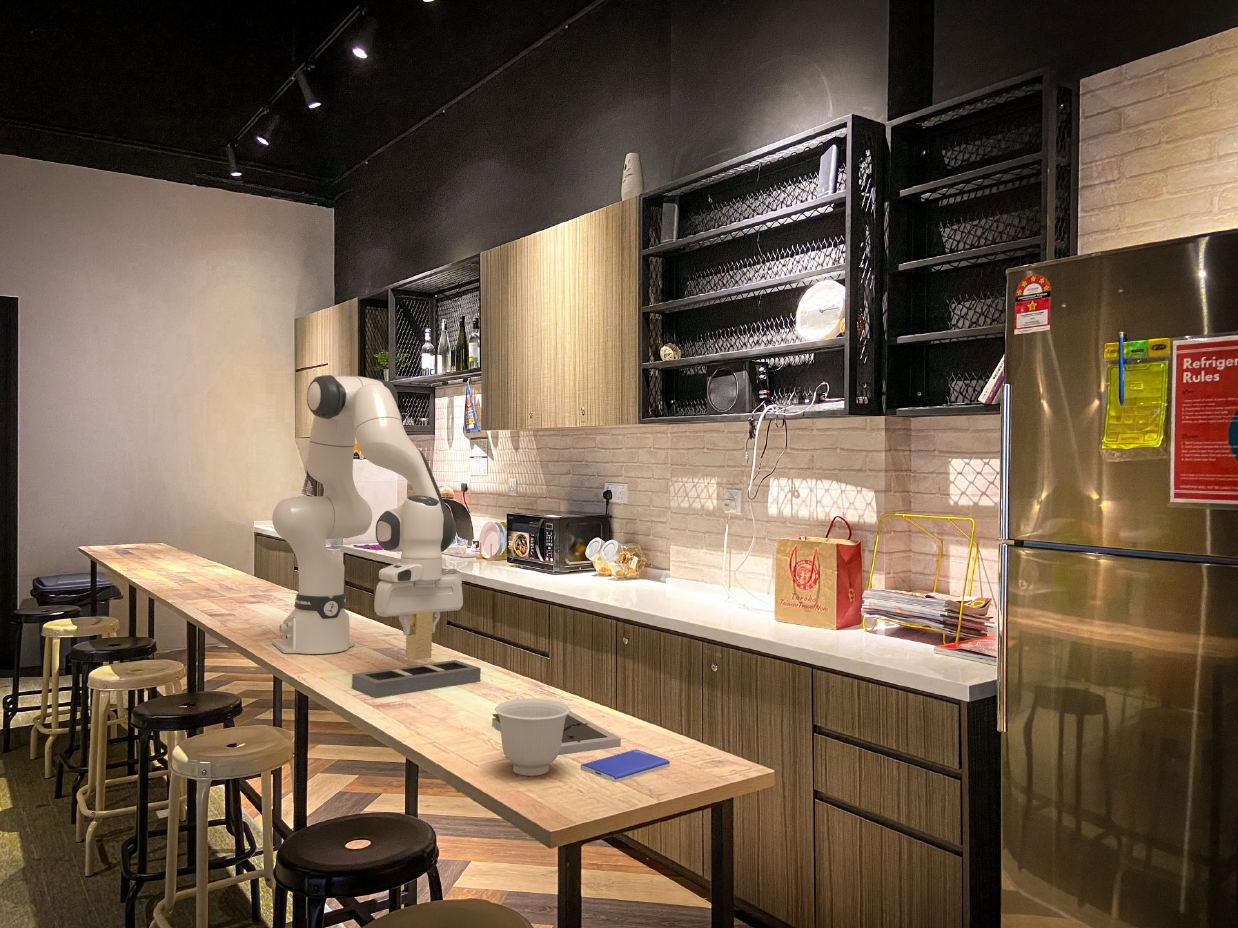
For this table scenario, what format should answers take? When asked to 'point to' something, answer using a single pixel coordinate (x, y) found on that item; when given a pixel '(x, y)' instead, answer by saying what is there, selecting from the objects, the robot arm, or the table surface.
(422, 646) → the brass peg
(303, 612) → the robot arm
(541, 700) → the teacup
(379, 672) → the grey compartment tray
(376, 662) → the table surface
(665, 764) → the hard drive
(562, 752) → the picture frame
